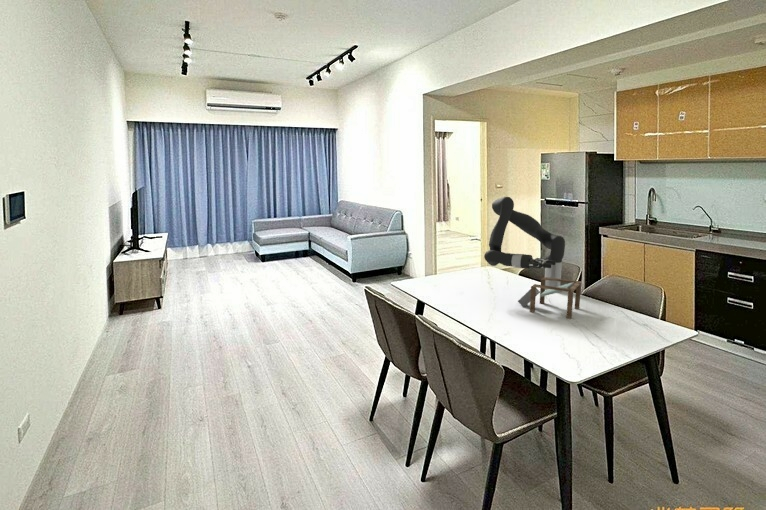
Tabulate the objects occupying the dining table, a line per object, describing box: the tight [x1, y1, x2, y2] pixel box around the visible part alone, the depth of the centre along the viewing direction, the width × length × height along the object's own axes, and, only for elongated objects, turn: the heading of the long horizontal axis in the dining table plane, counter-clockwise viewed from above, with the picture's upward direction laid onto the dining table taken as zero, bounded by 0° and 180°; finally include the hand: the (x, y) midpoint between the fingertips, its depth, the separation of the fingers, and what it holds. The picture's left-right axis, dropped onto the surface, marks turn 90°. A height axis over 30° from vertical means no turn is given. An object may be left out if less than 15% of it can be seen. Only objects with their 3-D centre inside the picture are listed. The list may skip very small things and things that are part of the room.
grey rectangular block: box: [517, 287, 540, 308], centre depth 246 cm, size 4×4×11 cm
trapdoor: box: [539, 282, 575, 297], centre depth 237 cm, size 14×15×1 cm
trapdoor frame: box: [529, 276, 582, 320], centre depth 238 cm, size 20×20×14 cm
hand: (553, 264), depth 236 cm, fingers open, 8 cm apart
